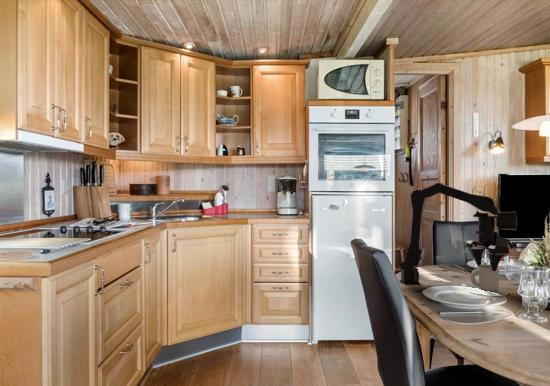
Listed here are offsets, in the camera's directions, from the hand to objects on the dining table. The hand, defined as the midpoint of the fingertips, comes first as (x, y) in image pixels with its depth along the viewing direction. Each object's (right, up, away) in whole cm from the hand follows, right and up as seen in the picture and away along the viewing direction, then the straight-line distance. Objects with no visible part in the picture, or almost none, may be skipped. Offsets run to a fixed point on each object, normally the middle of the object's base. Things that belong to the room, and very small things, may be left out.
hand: (486, 268), depth 160 cm
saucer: (0, -9, 0) cm, 9 cm away
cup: (0, -8, +1) cm, 8 cm away
